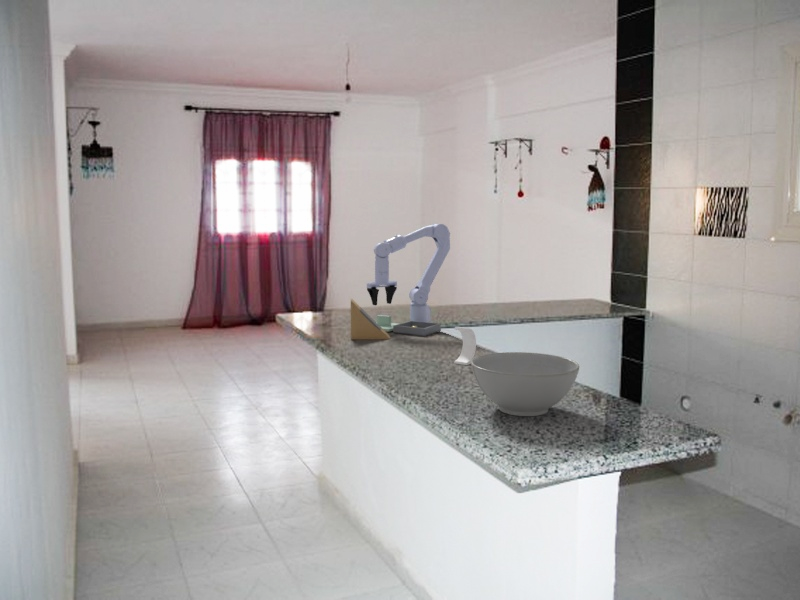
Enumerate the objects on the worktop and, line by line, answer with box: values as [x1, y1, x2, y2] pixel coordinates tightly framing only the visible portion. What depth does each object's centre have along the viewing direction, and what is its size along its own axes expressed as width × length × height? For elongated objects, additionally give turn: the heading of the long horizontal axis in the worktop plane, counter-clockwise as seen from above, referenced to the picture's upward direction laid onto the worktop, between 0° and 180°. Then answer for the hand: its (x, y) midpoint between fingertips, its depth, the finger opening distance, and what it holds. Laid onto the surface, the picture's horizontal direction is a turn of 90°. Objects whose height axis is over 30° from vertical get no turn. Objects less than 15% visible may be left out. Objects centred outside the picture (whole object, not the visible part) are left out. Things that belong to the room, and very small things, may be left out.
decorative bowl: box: [470, 351, 580, 417], centre depth 188 cm, size 27×27×12 cm
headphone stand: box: [453, 326, 477, 366], centre depth 243 cm, size 5×6×12 cm
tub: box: [392, 320, 442, 337], centre depth 301 cm, size 14×14×3 cm
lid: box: [375, 314, 399, 333], centre depth 308 cm, size 14×14×5 cm
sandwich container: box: [350, 298, 391, 340], centre depth 288 cm, size 9×15×15 cm, turn 93°
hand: (381, 304), depth 313 cm, fingers open, 7 cm apart
